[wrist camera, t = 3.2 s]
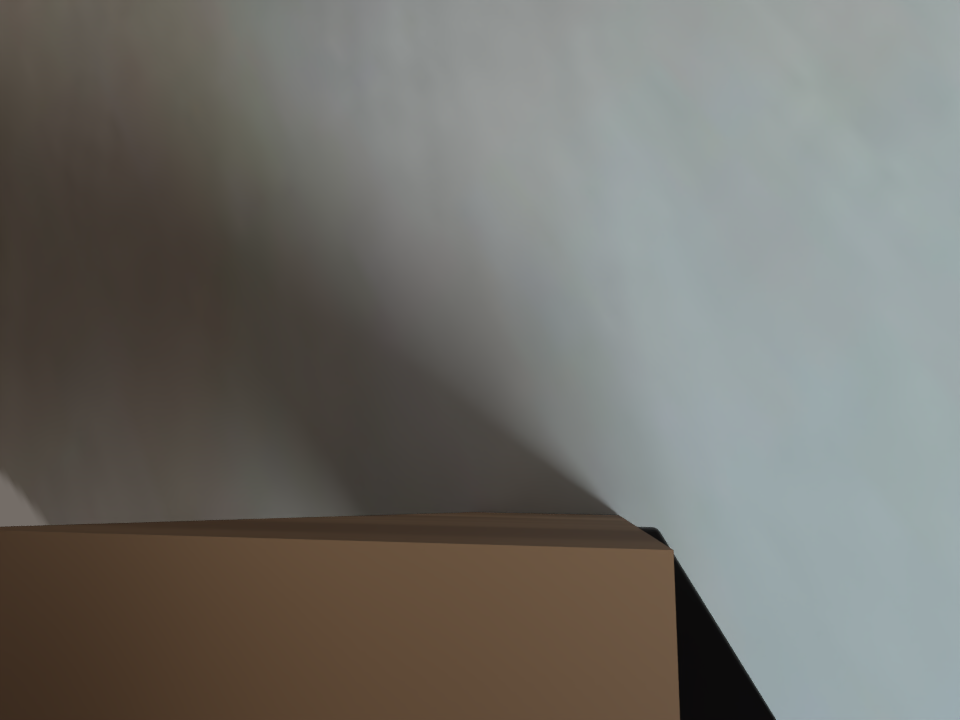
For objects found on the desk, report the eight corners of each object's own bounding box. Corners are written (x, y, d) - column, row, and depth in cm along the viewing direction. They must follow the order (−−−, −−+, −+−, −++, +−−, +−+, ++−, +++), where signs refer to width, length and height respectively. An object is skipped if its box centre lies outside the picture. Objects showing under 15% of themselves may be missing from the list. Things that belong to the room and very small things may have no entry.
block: (621, 674, 16) (720, 1778, 2) (470, 665, 16) (-226, 1458, 3) (618, 515, 16) (674, 551, 3) (472, 512, 17) (-62, 528, 3)
